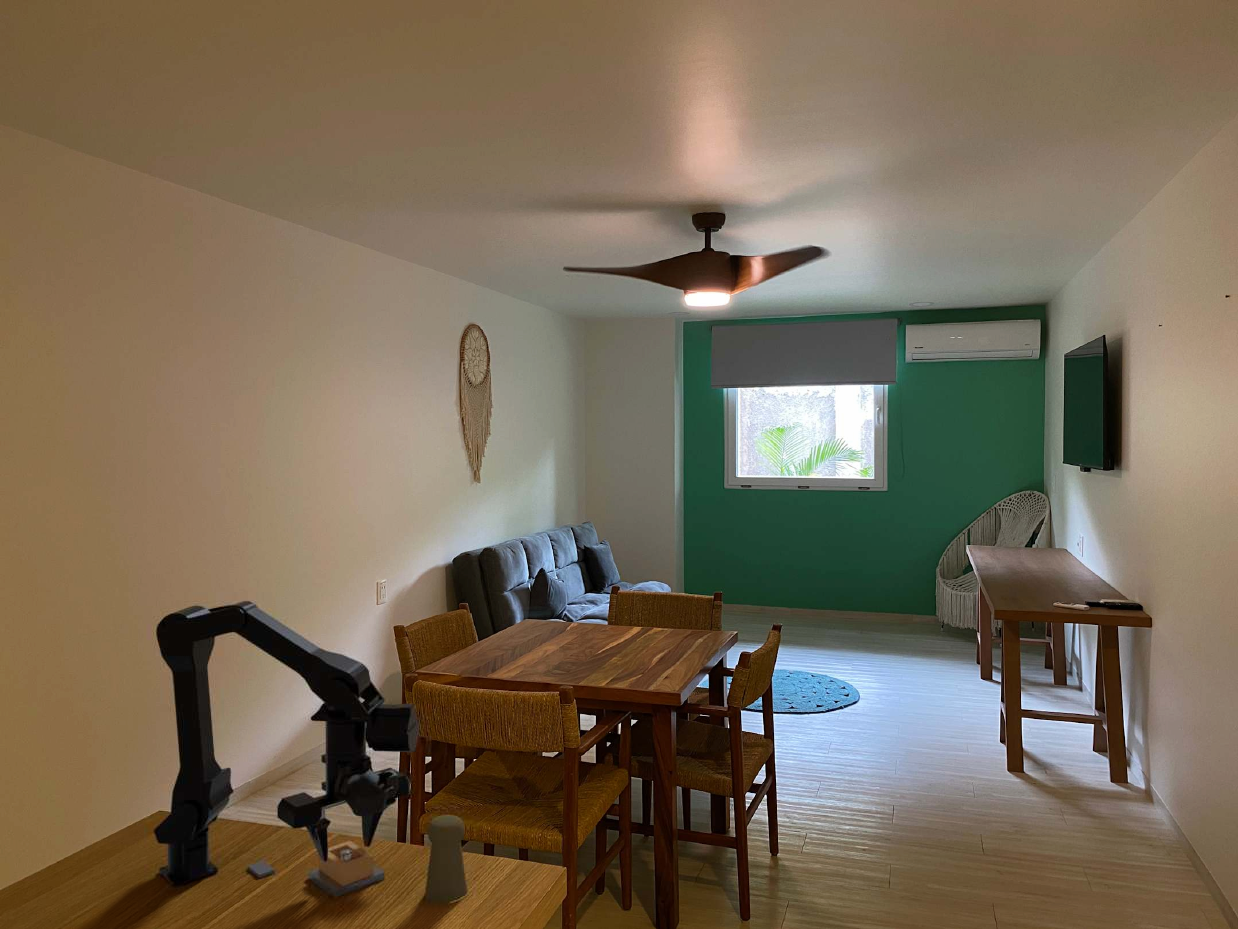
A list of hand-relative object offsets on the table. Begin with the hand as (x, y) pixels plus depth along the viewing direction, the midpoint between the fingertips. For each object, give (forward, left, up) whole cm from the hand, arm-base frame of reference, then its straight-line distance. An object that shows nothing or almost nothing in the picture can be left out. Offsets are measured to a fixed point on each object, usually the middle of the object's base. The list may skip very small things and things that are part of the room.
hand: (346, 853), depth 139 cm
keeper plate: (0, 0, -4) cm, 4 cm away
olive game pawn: (+14, +8, -4) cm, 17 cm away
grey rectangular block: (-11, -8, -4) cm, 14 cm away
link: (0, 0, -3) cm, 3 cm away
